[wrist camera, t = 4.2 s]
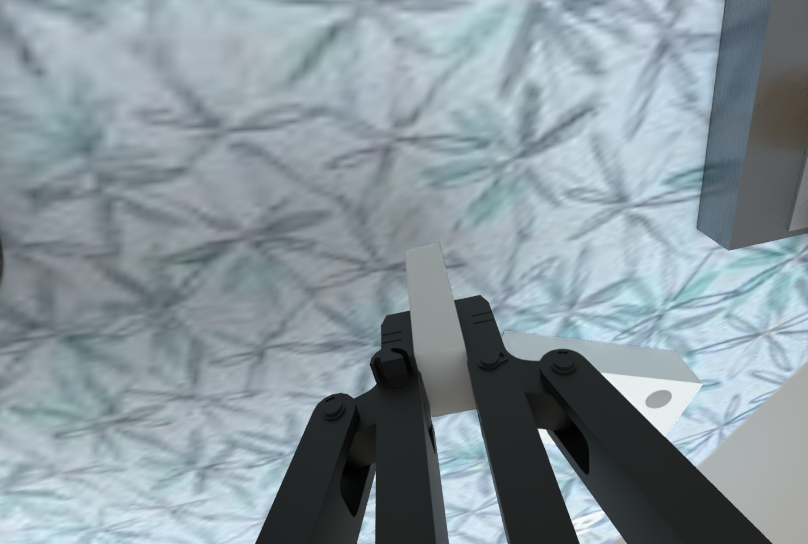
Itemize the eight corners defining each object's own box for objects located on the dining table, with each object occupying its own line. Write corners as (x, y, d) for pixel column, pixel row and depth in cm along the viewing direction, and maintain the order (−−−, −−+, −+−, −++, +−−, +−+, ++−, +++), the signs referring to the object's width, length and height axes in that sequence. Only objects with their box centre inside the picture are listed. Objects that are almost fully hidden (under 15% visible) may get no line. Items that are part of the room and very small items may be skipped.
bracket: (476, 400, 34) (499, 493, 28) (503, 327, 30) (538, 415, 24) (629, 414, 36) (685, 504, 29) (672, 348, 32) (746, 434, 26)
